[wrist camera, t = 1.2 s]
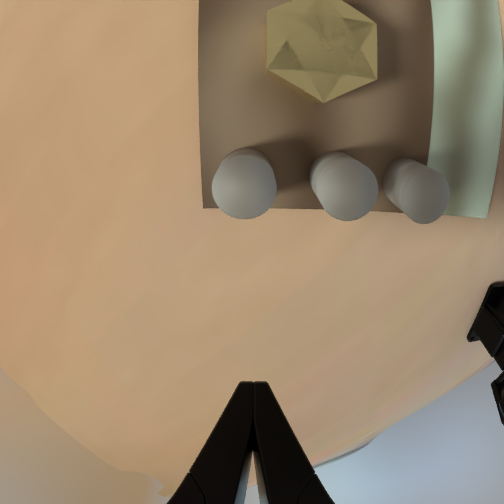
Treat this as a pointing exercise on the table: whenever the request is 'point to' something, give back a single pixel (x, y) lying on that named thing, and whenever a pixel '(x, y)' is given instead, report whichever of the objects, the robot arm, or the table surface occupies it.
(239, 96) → the board
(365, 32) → the hexagonal box
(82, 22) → the table surface
